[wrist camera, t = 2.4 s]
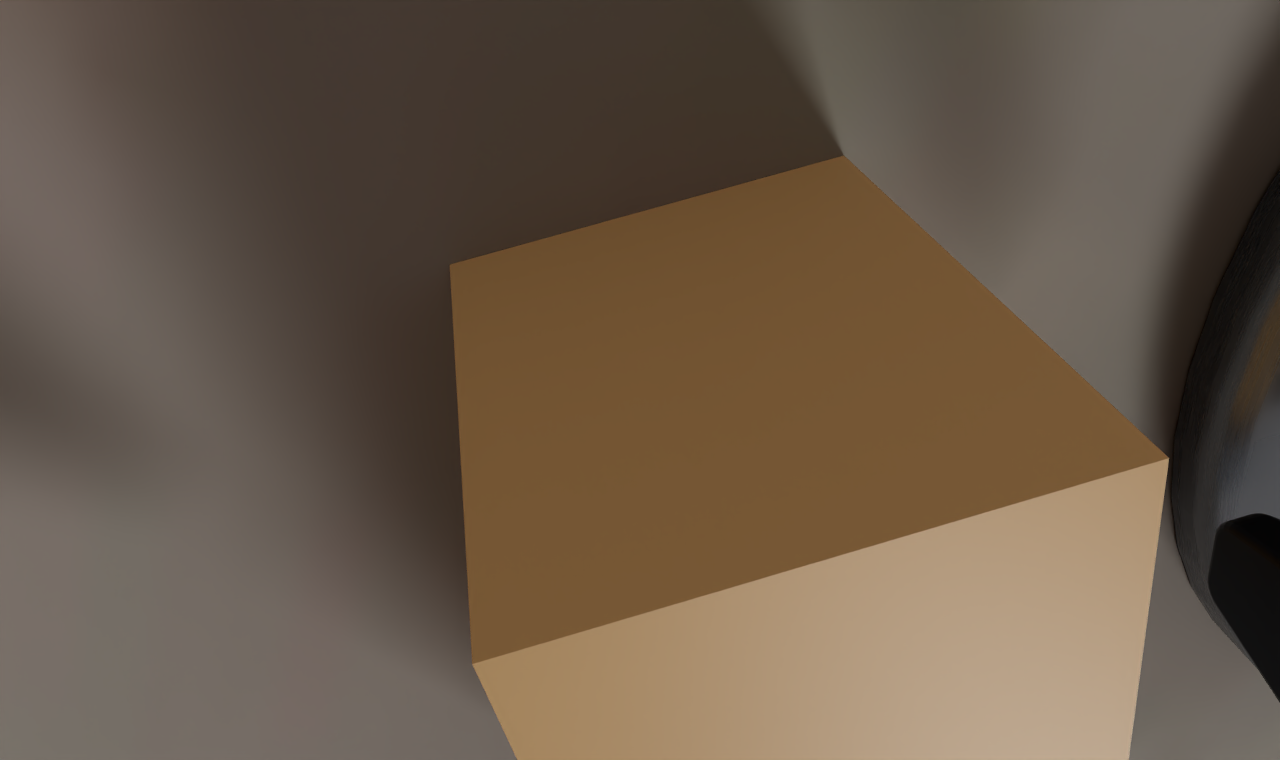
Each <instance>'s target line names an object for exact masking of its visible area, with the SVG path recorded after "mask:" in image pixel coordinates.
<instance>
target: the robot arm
mask: <svg viewBox="0 0 1280 760" xmlns="http://www.w3.org/2000/svg"><path fill="white" fill-rule="evenodd" d="M1207 581H1208V588H1209V591H1210V594H1211V597H1212V599H1213V601H1214V603H1215V604H1216V606H1217V608H1218V609H1219V611H1220V612H1221V614H1222V615H1223V617H1224V618H1225V620H1226V621H1227V623H1228V624H1229V626H1230V627H1231V629H1232V630H1233V632H1234V633H1235V635H1236V637H1237V638H1238V640H1239V641H1240V643H1241V644H1242V646H1243V647H1244V649H1245V650H1246V652H1247V653H1248V655H1249V656H1250V658H1251V659H1252V661H1253V662H1254V664H1255V666H1256V667H1257V669H1258V670H1259V672H1260V673H1261V675H1262V676H1263V678H1264V679H1265V681H1266V682H1267V684H1268V685H1269V687H1270V688H1271V690H1272V691H1273V693H1274V694H1275V696H1276V698H1277V699H1278V701H1279V702H1280V519H1278V518H1276V517H1273V516H1270V515H1267V514H1262V513H1255V514H1250V515H1246V516H1243V517H1240V518H1236V519H1233V520H1230V521H1226V522H1224V523H1222V524H1221V525H1220V526H1219V527H1218V528H1217V530H1216V533H1215V537H1214V543H1213V548H1212V554H1211V560H1210V565H1209V571H1208V578H1207Z"/></svg>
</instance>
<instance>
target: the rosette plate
mask: <svg viewBox="0 0 1280 760" xmlns="http://www.w3.org/2000/svg"><path fill="white" fill-rule="evenodd" d="M1171 497H1172V506H1173V514H1174V522H1175V530H1176V539H1177V546H1178V549H1179V552H1180V555H1181V558H1182V560H1183V563H1184V566H1185V569H1186V572H1187V575H1188V578H1189V581H1190V584H1191V587H1192V588H1193V590H1194V591H1195V593H1196V595H1197V596H1198V598H1199V599H1200V601H1201V602H1202V604H1203V606H1204V607H1205V609H1206V610H1207V612H1208V613H1209V615H1210V617H1211V618H1212V620H1213V621H1214V622H1215V623H1216V624H1217V625H1218V626H1219V628H1220V629H1221V630H1222V631H1223V632H1224V633H1225V634H1226V635H1227V636H1228V637H1229V638H1230V640H1231V641H1232V642H1233V643H1234V644H1235V645H1236V646H1237V647H1238V648H1239V649H1240V650H1241V651H1242V653H1243V654H1244V655H1245V656H1246V657H1247V658H1248V659H1249V660H1250V661H1251V662H1252V663H1253V664H1254V662H1253V661H1252V659H1251V658H1250V656H1249V655H1248V653H1247V652H1246V650H1245V649H1244V647H1243V646H1242V644H1241V643H1240V641H1239V640H1238V638H1237V637H1236V635H1235V633H1234V632H1233V630H1232V629H1231V627H1230V626H1229V624H1228V623H1227V621H1226V620H1225V618H1224V617H1223V615H1222V614H1221V612H1220V611H1219V609H1218V608H1217V606H1216V604H1215V603H1214V601H1213V599H1212V597H1211V594H1210V591H1209V588H1208V581H1207V578H1208V571H1209V565H1210V560H1211V554H1212V548H1213V543H1214V537H1215V533H1216V530H1217V528H1218V527H1219V526H1220V525H1221V524H1222V523H1224V522H1226V521H1230V520H1233V519H1236V518H1240V517H1243V516H1246V515H1250V514H1255V513H1262V514H1267V515H1270V516H1273V517H1276V518H1278V519H1280V170H1279V171H1278V173H1277V175H1276V176H1275V178H1274V180H1273V181H1272V183H1271V185H1270V186H1269V188H1268V190H1267V192H1266V193H1265V195H1264V197H1263V198H1262V200H1261V202H1260V203H1259V205H1258V207H1257V208H1256V210H1255V212H1254V214H1253V216H1252V218H1251V220H1250V223H1249V225H1248V227H1247V229H1246V231H1245V233H1244V235H1243V237H1242V240H1241V242H1240V244H1239V246H1238V248H1237V250H1236V252H1235V254H1234V256H1233V259H1232V261H1231V263H1230V265H1229V267H1228V269H1227V271H1226V273H1225V275H1224V278H1223V280H1222V282H1221V284H1220V286H1219V288H1218V290H1217V292H1216V294H1215V297H1214V300H1213V303H1212V306H1211V309H1210V312H1209V314H1208V317H1207V320H1206V323H1205V326H1204V329H1203V332H1202V335H1201V337H1200V340H1199V343H1198V346H1197V349H1196V352H1195V355H1194V358H1193V360H1192V363H1191V366H1190V369H1189V373H1188V377H1187V382H1186V387H1185V392H1184V396H1183V401H1182V406H1181V410H1180V415H1179V420H1178V425H1177V429H1176V434H1175V442H1174V459H1173V476H1172V493H1171ZM1254 666H1255V664H1254ZM1255 667H1256V666H1255ZM1256 668H1257V667H1256Z"/></svg>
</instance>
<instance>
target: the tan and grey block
mask: <svg viewBox="0 0 1280 760" xmlns="http://www.w3.org/2000/svg"><path fill="white" fill-rule="evenodd" d="M450 279H451V296H452V314H453V332H454V349H455V367H456V385H457V402H458V420H459V438H460V455H461V473H462V491H463V508H464V526H465V544H466V561H467V579H468V596H469V614H470V632H471V649H472V664H473V667H474V669H475V671H476V673H477V675H478V677H479V679H480V681H481V684H482V686H483V688H484V690H485V692H486V694H487V696H488V698H489V701H490V703H491V705H492V707H493V709H494V711H495V713H496V715H497V718H498V720H499V722H500V724H501V726H502V728H503V730H504V732H505V735H506V737H507V739H508V741H509V743H510V745H511V747H512V749H513V752H514V754H515V756H516V758H517V760H1129V753H1130V745H1131V738H1132V730H1133V723H1134V716H1135V708H1136V701H1137V693H1138V686H1139V678H1140V671H1141V664H1142V656H1143V649H1144V641H1145V634H1146V626H1147V619H1148V612H1149V604H1150V597H1151V589H1152V582H1153V575H1154V567H1155V560H1156V552H1157V545H1158V537H1159V530H1160V523H1161V515H1162V508H1163V500H1164V493H1165V485H1166V478H1167V471H1168V463H1169V458H1168V457H1167V456H1166V455H1165V454H1164V453H1163V452H1162V451H1161V450H1160V449H1159V448H1158V447H1157V446H1156V445H1154V444H1153V443H1152V442H1151V441H1150V440H1149V439H1148V438H1147V437H1146V436H1145V435H1144V434H1143V433H1142V432H1140V431H1139V430H1138V429H1137V428H1136V427H1135V426H1134V425H1133V424H1132V423H1131V422H1130V421H1129V420H1128V419H1127V418H1125V417H1124V416H1123V415H1122V414H1121V413H1120V412H1119V411H1118V410H1117V409H1116V408H1115V407H1114V406H1113V405H1111V404H1110V403H1109V402H1108V401H1107V400H1106V399H1105V398H1104V397H1103V396H1102V395H1101V394H1100V393H1099V392H1097V391H1096V390H1095V389H1094V388H1093V387H1092V386H1091V385H1090V384H1089V383H1088V382H1087V381H1086V380H1085V379H1084V378H1082V377H1081V376H1080V375H1079V374H1078V373H1077V372H1076V371H1075V370H1074V369H1073V368H1072V367H1071V366H1070V365H1068V364H1067V363H1066V362H1065V361H1064V360H1063V359H1062V358H1061V357H1060V356H1059V355H1058V354H1057V353H1056V352H1054V351H1053V350H1052V349H1051V348H1050V347H1049V346H1048V345H1047V344H1046V343H1045V342H1044V341H1043V340H1042V339H1041V338H1039V337H1038V336H1037V335H1036V334H1035V333H1034V332H1033V331H1032V330H1031V329H1030V328H1029V327H1028V326H1027V325H1025V324H1024V323H1023V322H1022V321H1021V320H1020V319H1019V318H1018V317H1017V316H1016V315H1015V314H1014V313H1013V312H1011V311H1010V310H1009V309H1008V308H1007V307H1006V306H1005V305H1004V304H1003V303H1002V302H1001V301H1000V300H999V299H998V298H996V297H995V296H994V295H993V294H992V293H991V292H990V291H989V290H988V289H987V288H986V287H985V286H984V285H982V284H981V283H980V282H979V281H978V280H977V279H976V278H975V277H974V276H973V275H972V274H971V273H970V272H968V271H967V270H966V269H965V268H964V267H963V266H962V265H961V264H960V263H959V262H958V261H957V260H956V259H955V258H953V257H952V256H951V255H950V254H949V253H948V252H947V251H946V250H945V249H944V248H943V247H942V246H941V245H939V244H938V243H937V242H936V241H935V240H934V239H933V238H932V237H931V236H930V235H929V234H928V233H927V232H925V231H924V230H923V229H922V228H921V227H920V226H919V225H918V224H917V223H916V222H915V221H914V220H913V219H912V218H910V217H909V216H908V215H907V214H906V213H905V212H904V211H903V210H902V209H901V208H900V207H899V206H898V205H896V204H895V203H894V202H893V201H892V200H891V199H890V198H889V197H888V196H887V195H886V194H885V193H884V192H882V191H881V190H880V189H879V188H878V187H877V186H876V185H875V184H874V183H873V182H872V181H871V180H870V179H868V178H867V177H866V176H865V175H864V174H863V173H862V172H861V171H860V170H859V169H858V168H857V167H856V166H855V165H853V164H852V163H851V162H850V161H849V160H848V159H847V158H846V157H845V156H840V157H837V158H833V159H830V160H826V161H822V162H819V163H815V164H811V165H808V166H804V167H801V168H797V169H793V170H790V171H786V172H783V173H779V174H775V175H772V176H768V177H765V178H761V179H757V180H754V181H750V182H746V183H743V184H739V185H736V186H732V187H728V188H725V189H721V190H718V191H714V192H710V193H707V194H703V195H699V196H696V197H692V198H689V199H685V200H681V201H678V202H674V203H671V204H667V205H663V206H660V207H656V208H652V209H649V210H645V211H642V212H638V213H634V214H631V215H627V216H624V217H620V218H616V219H613V220H609V221H605V222H602V223H598V224H595V225H591V226H587V227H584V228H580V229H577V230H573V231H569V232H566V233H562V234H559V235H555V236H551V237H548V238H544V239H540V240H537V241H533V242H530V243H526V244H522V245H519V246H515V247H512V248H508V249H504V250H501V251H497V252H494V253H490V254H486V255H483V256H479V257H475V258H472V259H468V260H465V261H461V262H457V263H454V264H450Z"/></svg>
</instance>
